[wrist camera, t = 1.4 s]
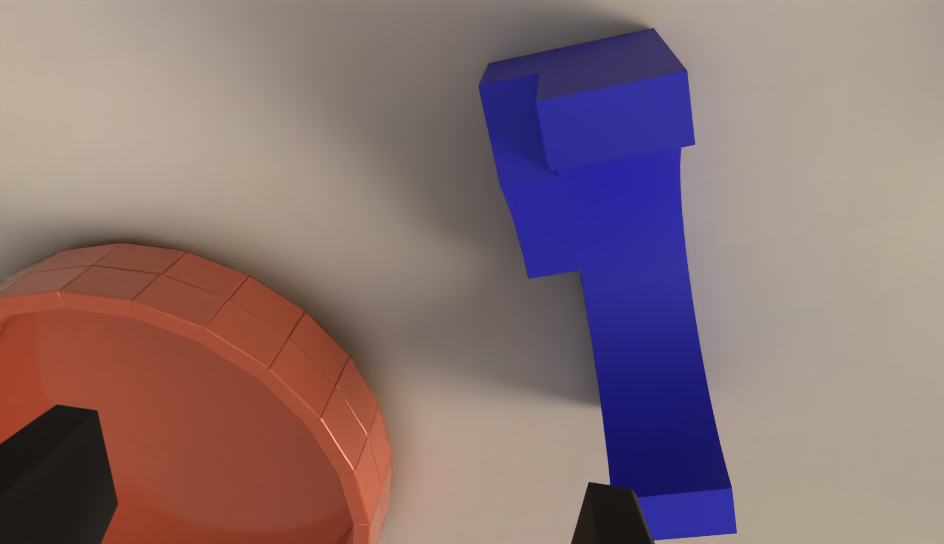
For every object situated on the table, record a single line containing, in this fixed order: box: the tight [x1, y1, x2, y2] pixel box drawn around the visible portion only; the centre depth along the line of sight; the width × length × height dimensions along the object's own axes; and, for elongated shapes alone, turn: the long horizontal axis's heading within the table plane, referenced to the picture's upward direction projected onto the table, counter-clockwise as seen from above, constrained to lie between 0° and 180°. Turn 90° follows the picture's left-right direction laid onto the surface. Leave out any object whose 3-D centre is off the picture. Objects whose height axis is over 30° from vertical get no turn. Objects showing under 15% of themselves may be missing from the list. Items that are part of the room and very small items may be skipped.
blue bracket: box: [479, 28, 737, 540], centre depth 20 cm, size 12×4×6 cm, turn 13°
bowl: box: [0, 243, 392, 544], centre depth 26 cm, size 16×16×4 cm
